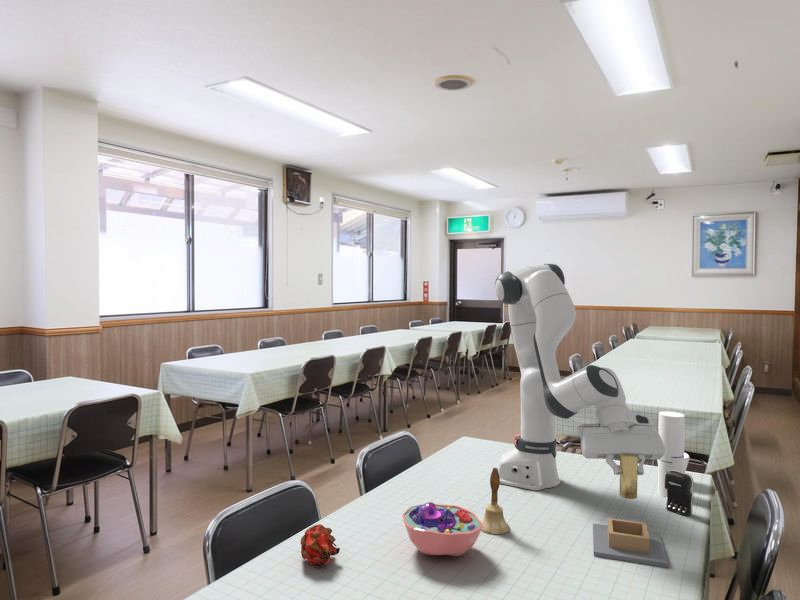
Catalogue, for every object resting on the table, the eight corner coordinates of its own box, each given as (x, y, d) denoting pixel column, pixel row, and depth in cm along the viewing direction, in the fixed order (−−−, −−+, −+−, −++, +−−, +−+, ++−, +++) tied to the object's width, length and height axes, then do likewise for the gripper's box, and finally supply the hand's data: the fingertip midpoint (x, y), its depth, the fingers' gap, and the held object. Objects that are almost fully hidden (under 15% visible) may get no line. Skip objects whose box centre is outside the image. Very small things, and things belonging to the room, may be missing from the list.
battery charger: (662, 509, 153) (662, 470, 153) (669, 506, 155) (670, 467, 155) (686, 518, 147) (687, 477, 147) (693, 515, 149) (694, 475, 149)
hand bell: (490, 518, 148) (490, 461, 147) (515, 527, 142) (516, 468, 141) (472, 527, 142) (472, 468, 141) (497, 538, 136) (498, 476, 135)
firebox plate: (593, 555, 127) (593, 537, 127) (592, 527, 142) (593, 510, 142) (667, 567, 121) (668, 548, 121) (658, 536, 137) (659, 519, 136)
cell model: (464, 579, 116) (464, 529, 116) (388, 555, 127) (388, 508, 127) (493, 547, 131) (493, 502, 131) (422, 528, 141) (422, 486, 141)
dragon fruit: (313, 553, 131) (328, 585, 120) (286, 540, 127) (299, 572, 117) (334, 524, 132) (350, 552, 121) (307, 510, 128) (322, 539, 118)
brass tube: (620, 497, 130) (620, 457, 130) (618, 491, 134) (619, 452, 133) (637, 499, 129) (638, 459, 128) (636, 493, 133) (636, 454, 132)
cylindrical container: (686, 499, 160) (688, 417, 159) (661, 497, 162) (662, 416, 161) (679, 490, 167) (680, 411, 166) (655, 488, 169) (656, 410, 168)
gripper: (578, 417, 138) (589, 467, 129) (658, 418, 137) (675, 468, 128) (573, 429, 143) (583, 478, 133) (650, 430, 142) (666, 480, 132)
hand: (629, 473), depth 131 cm, fingers closed on brass tube, 4 cm apart
